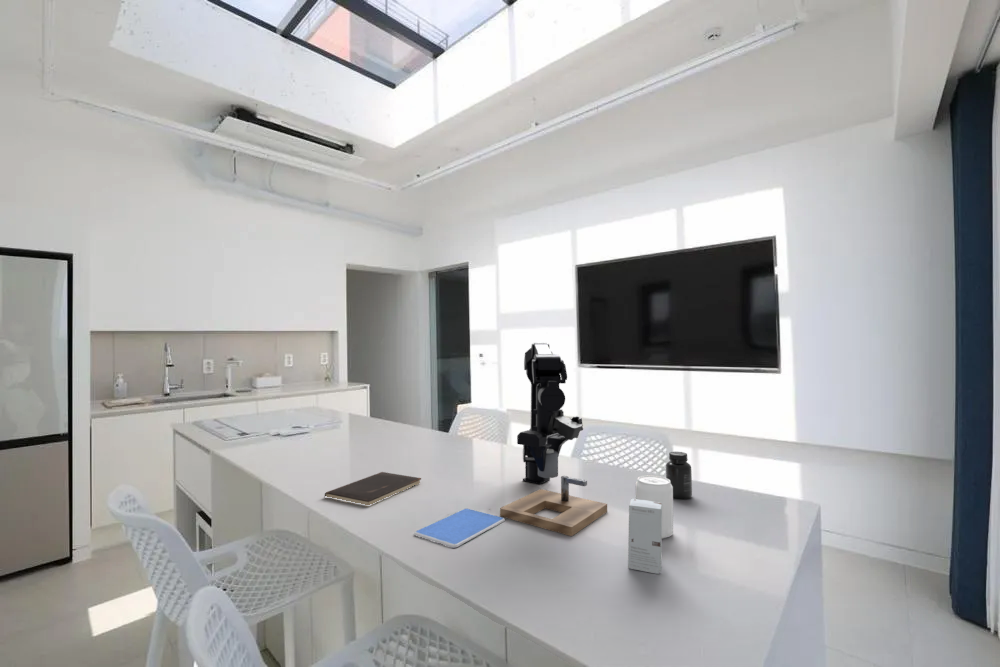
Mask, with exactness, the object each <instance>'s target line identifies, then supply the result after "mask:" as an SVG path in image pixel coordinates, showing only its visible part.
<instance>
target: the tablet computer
mask: <svg viewBox="0 0 1000 667" xmlns="http://www.w3.org/2000/svg"><path fill="white" fill-rule="evenodd" d="M505 521H506V520H505V517H501V516H497V515H493V514H489V513H486V512H482V511H480V510H479V511H478V510H475V509H471V508H463V509H462V510H459V511H456V512H455V513H453V514H451V515H449V516H446V517H445V518H442V519H440V520H438V521H436V522H433V523H431V524H429V525H427V526H424V527H422V528H420V529H418V530H416V531H414V534H415V535H417V536H420V537H423V538H426V539H429V540H432V541H435V542H437V543H436V544H438V543H441V544H443V545H442V546H444V545H446V546H445V547H447V546H448V547H447V548H451V549H455V548H458V547H460V546H462V545H464V544H465V543H467V542H469V541H470V540H472V539H474V538H476V537H478V536H479V535H481V534H483V533H485V532H487V531H489V530H491V529H492V528H495V527H496V526H498V525H500V524H502V523H504V522H505ZM414 534H413V535H414ZM415 535H414V536H415ZM417 536H416V537H417ZM420 537H419V538H420ZM423 538H422V539H423ZM426 539H425V540H426ZM429 540H428V541H429ZM432 541H431V542H432ZM435 542H434V543H435ZM441 544H440V545H441Z"/></svg>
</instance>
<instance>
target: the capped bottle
mask: <svg viewBox="0 0 1000 667" xmlns="http://www.w3.org/2000/svg"><path fill="white" fill-rule="evenodd" d="M538 476H540V477H543V478H550V479H553V478H557V477H558V476H559V456H558V452H557V451H554V450H553V449H547V451H546V461H545V469H544V471H543V472H542V471H540V470H539V468H538Z"/></svg>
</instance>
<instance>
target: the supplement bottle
mask: <svg viewBox="0 0 1000 667" xmlns="http://www.w3.org/2000/svg"><path fill="white" fill-rule="evenodd" d="M668 456H669V457H668V460H669V461H667V463H666V464H665V478H667V479H669V480H670V483H671V485H672V487H673V499H676V500H689V499H691V498H692V497H693V477H692V476H693V474H692V473H693V472H692V470H693V469H692V464H690V463H689V462H687V461H689V459H688V453H686V452H683V451H670V452H669V455H668Z"/></svg>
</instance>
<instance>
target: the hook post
mask: <svg viewBox="0 0 1000 667" xmlns="http://www.w3.org/2000/svg"><path fill="white" fill-rule="evenodd" d="M569 484H571V485H575V486H579V487H580V486H581V487H586V486H588V480H587V479H582V478H576V477H571V476H567V475H562V476H561V477H560V493H561V500H562V501H569V495H570V485H569Z"/></svg>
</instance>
